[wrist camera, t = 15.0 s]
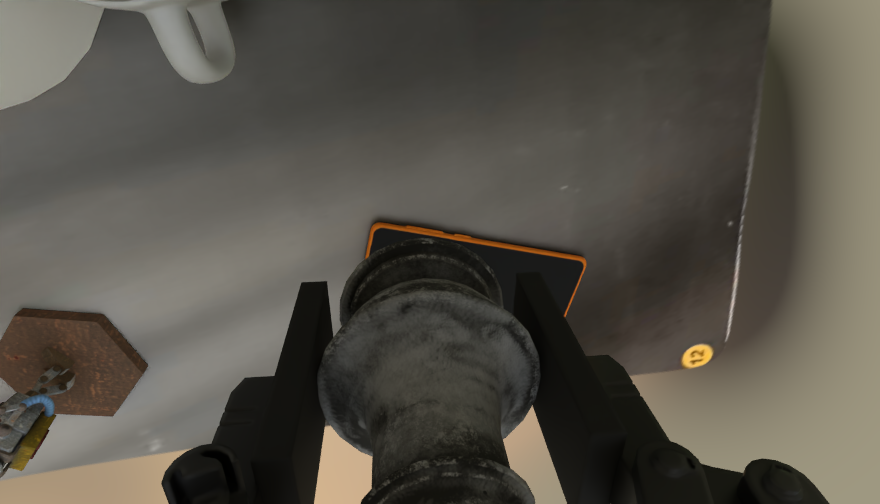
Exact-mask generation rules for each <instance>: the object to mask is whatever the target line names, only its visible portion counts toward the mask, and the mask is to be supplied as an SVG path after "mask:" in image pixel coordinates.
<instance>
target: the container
mask: <svg viewBox="0 0 880 504" xmlns="http://www.w3.org/2000/svg"><path fill="white" fill-rule="evenodd" d="M103 11H104V8H102V7H96V6H93V5H89V4H85V3H81V2H79V1H76V0H0V110H2V109H5V108H8V107H11V106H15V105H18V104H21V103H24V102H28V101H30V100H32V99H34V98H35V97H37V96H39V95H40V94H42V93H44V92H45V91H47V90H49V89H51V88H52V87H54V86H56V85H57V84H59V83H61V82H62V81H64V80H65V79H66V78H67V77H68V75H69V74H70V73H71V72H72V70H73V69H74V68H75V67H76V65H77V64H78V63H79V62H80V61H81V59H82V58H83V57H84V56H85V54H86V53H87V52H88V51H89V49H90V48H91V45H92V42H93V39H94V36H95V33H96V31H97V28H98V25H99V22H100V19H101V16H102V14H103Z"/></svg>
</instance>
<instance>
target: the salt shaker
mask: <svg viewBox="0 0 880 504" xmlns="http://www.w3.org/2000/svg"><path fill="white" fill-rule="evenodd" d="M340 322H341V325H342V327H341V328H340V330H339V331H338V332H337V334H336V335H335V336H334V338H333V339H332V340H331V342H330V343H329V344H328V346H327V347H326V349H325V352H324V354H323V357H322V360H321V363H320V366H319V369H318V372H317V385H318V394H319V401H320V406H321V408H322V411H323V414H324V417H325V419H326V420H327V421H328V423H329V424H330V425H331V426H332V427H333V429H334V430H335V431H336V432H337V434H338V435H339V436H340V437H341V438H342V439H344V440H345V441H347V442H348V443H349V444H351V445H352V446H353V447H355V448H356V449H358V450H359V451H361V452H363V453H365V454H368V455H370V456H373V462H372V489H371V490H370V492H369V493H368V494H367V495H366V496H365V497H364V498H363V499H362V502H361V504H535V499H534V496H533V494H532V492H531V490H530V488H529V486H528V485H527V483H526V481H524V480H523V479H522V478H521V477H520V476H519V475H518V474H517V473H515V472H514V471H513V470H512V469H510V466H509V462H508V458H507V454H506V450H505V446H504V442H503V439H504V438H506V437H507V436H508V435H509V434H510V433H511V432H512V431H513V430H514V429H515V428H516V427H517V426H518V425H519V424H520V423H521V422H522V421H523V420H524V418H525V416H526V415H527V413H528V411H529V410H530V408H531V406H532V405H533V403H534V401H535V399H536V396H537V392H538V388H539V384H540V379H541V372H540V360H539V354H538V352H537V350H536V347H535V345H534V343H533V341H532V339H531V336H530V334H529V332H528V331H527V330H526V329H525V328H524V326H523V325H522V324H521V323H520V322H519V321H518V320H517V319H516V318H515V317H514V316H513V315H512V314H511V313H510V312H508V311H506V310H505V309H503V299H502V290H501V287H500V285H499V283H498V281H497V279H496V276H495V274H494V272H493V270H492V269H491V268H490V267H489V266H488V265H487V264H486V263H485V261H484V260H483V259H482V258H481V257H480V256H478V255H477V254H475V253H474V252H472V251H470V250H469V249H467V248H466V247H464V246H462V245H459V244H456V243H452V242H449V241H446V240H443V239H430V238H415V239H410V240H405V241H399V242H395V243H393V244H391V245H388V246H386V247H384V248H382V249H379V250H377V251H375V252H374V253H373V254H371V255H370V256H369V257H368V258H366V259H365V260H364V261H363V262H361V263H360V264H359V265H358V266H357V267H356V269H355V270H354V272H353V273H352V274H351V276H350V277H349V279H348V280H347V281H346V284H345V287H344V290H343V293H342V296H341V299H340Z"/></svg>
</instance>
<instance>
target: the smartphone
mask: <svg viewBox="0 0 880 504" xmlns="http://www.w3.org/2000/svg"><path fill="white" fill-rule="evenodd" d="M415 238H430V239H443V240H446V241H449V242H452V243H456V244H459V245H462V246H464V247H466V248H467V249H469V250H470V251H472V252H474V253H475V254H477V255H478V256H480V257H481V258H482V259H483V260H484V261H485V263H486V264H487V265H488V266H489V267H490V268H491V269H492V270H493V272H494V274H495V276H496V279H497V281H498V283H499V285H500V287H501V290H502V299H503V309H505V310H506V311H508V312H510V313H511V314H512V315H513V307H514V295H515V284H516V273H527V272H540V273H541V275H542V277H543V279H544V280H545V282H546V284H547V286H548V288H549V290H550V291H551V293H552V295H553V297H554V299H555V301H556V302H557V304H558V306H559V308H560V310H561V312H562V313H563V315H564V317H565V316H566V314H567V311H568V309H569V306H570V304H571V302H572V299H573V297H574V294H575V292H576V289H577V287H578V285H579V282H580V280H581V277H582V275H583V272H584V270H585V268H586V260H585V259H584V258H583V257H581V256H577V255H571V254H565V253H559V252H553V251H547V250H542V249H536V248H530V247H524V246H518V245H512V244H506V243H500V242H494V241H488V240H483V239H477V238H471V236H468V235H462V234H456V233H455V234H454V235H453V234H447V233H443V231H438V230H432V229H426V228H421V227H415V226H409V225H406V226H400V225H394V224H388V223H382V222H378V223H375V224H374V225H373V226H372V228H371V231H370V236H369V241H368V247H367V252H366V257H365V259H366V258H368V257H369V256H370V255H371V254H373V253H374V252H375V251H377V250H379V249H382V248H384V247H386V246H388V245H391V244H393V243H395V242H399V241H405V240H410V239H415Z"/></svg>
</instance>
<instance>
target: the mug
mask: <svg viewBox="0 0 880 504" xmlns="http://www.w3.org/2000/svg"><path fill="white" fill-rule="evenodd" d="M76 1H79V2H81V3H85V4H89V5H93V6H96V7H102V8H109V9H117V10H128V11H137V12H141V13H143V14H144V15H145V16H146V17H147V19H148V21H149V22H150V24H151V26H152V28H153V31H154V33H155V35H156V37H157V39H158V41H159V43H160V45H161V47H162V49H163V51H164V53H165V55H166V57H167V59H168V60H169V62H170V64H171V65H172V66H173V68H174V69H175V70H176V71H177V72H178V73H179V74H180V75H181V76H182V77H183V78H184V79H186V80H188V81H190V82H194V83H198V84H208V83H213V82H216V81H219V80H222V79H223V78H225V77H226V76H227V75H229V74H230V72H231V71H232V69H233V67H234V64H235V58H236V55H235V48H234V43H233V40H232V36H231V33H230V30H229V27H228V24H227V21H226V19H225V16H224V13H223V10H222V6H221V2H224V1H227V0H76ZM187 10H188V11H189V12H190V14H191V15H192V17H193V19H194V21H195V23H196V25H197V27H198V30H199V32H200V35H201V37H202V40H203V44H204V47H205V52H206V56H205V54H204V53H203V51H202V49H201V47H200V45H199V43H198V41H197V39H196V36H195V34H194V32H193V29H192V26H191V23H190V21H189V17H188V14H187Z"/></svg>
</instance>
